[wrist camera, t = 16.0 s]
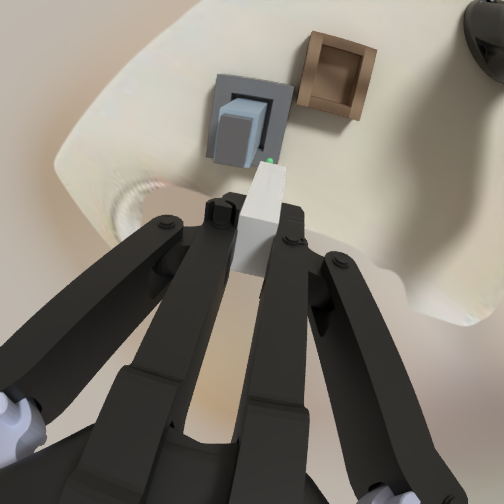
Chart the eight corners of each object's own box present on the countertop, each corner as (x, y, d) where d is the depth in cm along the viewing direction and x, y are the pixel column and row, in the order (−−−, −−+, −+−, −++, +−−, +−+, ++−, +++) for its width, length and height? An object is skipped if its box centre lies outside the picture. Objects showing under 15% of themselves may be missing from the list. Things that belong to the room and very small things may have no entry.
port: (222, 73, 36) (216, 74, 33) (294, 86, 36) (294, 87, 33) (211, 151, 43) (205, 157, 40) (277, 163, 43) (276, 171, 40)
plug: (239, 96, 37) (216, 109, 26) (268, 101, 37) (257, 116, 26) (233, 136, 41) (209, 166, 30) (260, 141, 41) (247, 173, 30)
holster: (310, 33, 31) (312, 30, 28) (371, 50, 31) (377, 49, 28) (296, 102, 37) (296, 104, 35) (354, 117, 37) (359, 121, 35)
